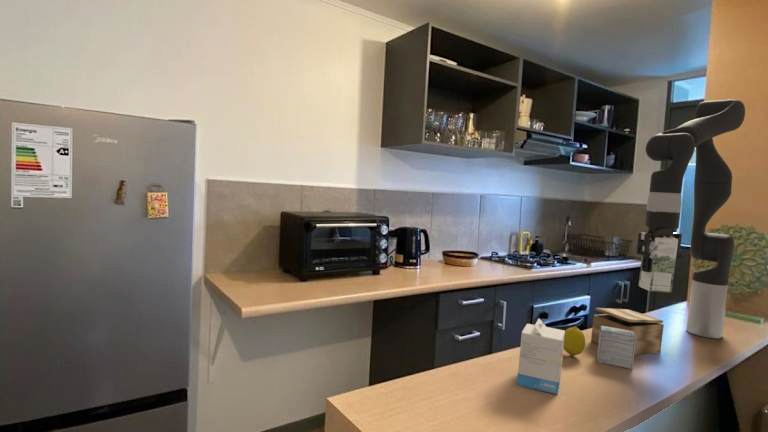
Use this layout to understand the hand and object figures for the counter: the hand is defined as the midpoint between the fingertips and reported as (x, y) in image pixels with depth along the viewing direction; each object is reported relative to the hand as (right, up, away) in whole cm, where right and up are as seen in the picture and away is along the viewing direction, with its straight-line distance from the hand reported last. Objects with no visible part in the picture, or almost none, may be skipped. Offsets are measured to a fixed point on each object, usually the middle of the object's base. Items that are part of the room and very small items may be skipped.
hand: (656, 271), depth 112 cm
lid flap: (-3, -14, +7) cm, 16 cm away
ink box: (-38, -22, -19) cm, 48 cm away
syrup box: (0, -5, 0) cm, 5 cm away
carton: (-4, -23, +8) cm, 24 cm away
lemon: (-23, -22, -2) cm, 32 cm away
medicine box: (-14, -23, -5) cm, 27 cm away
